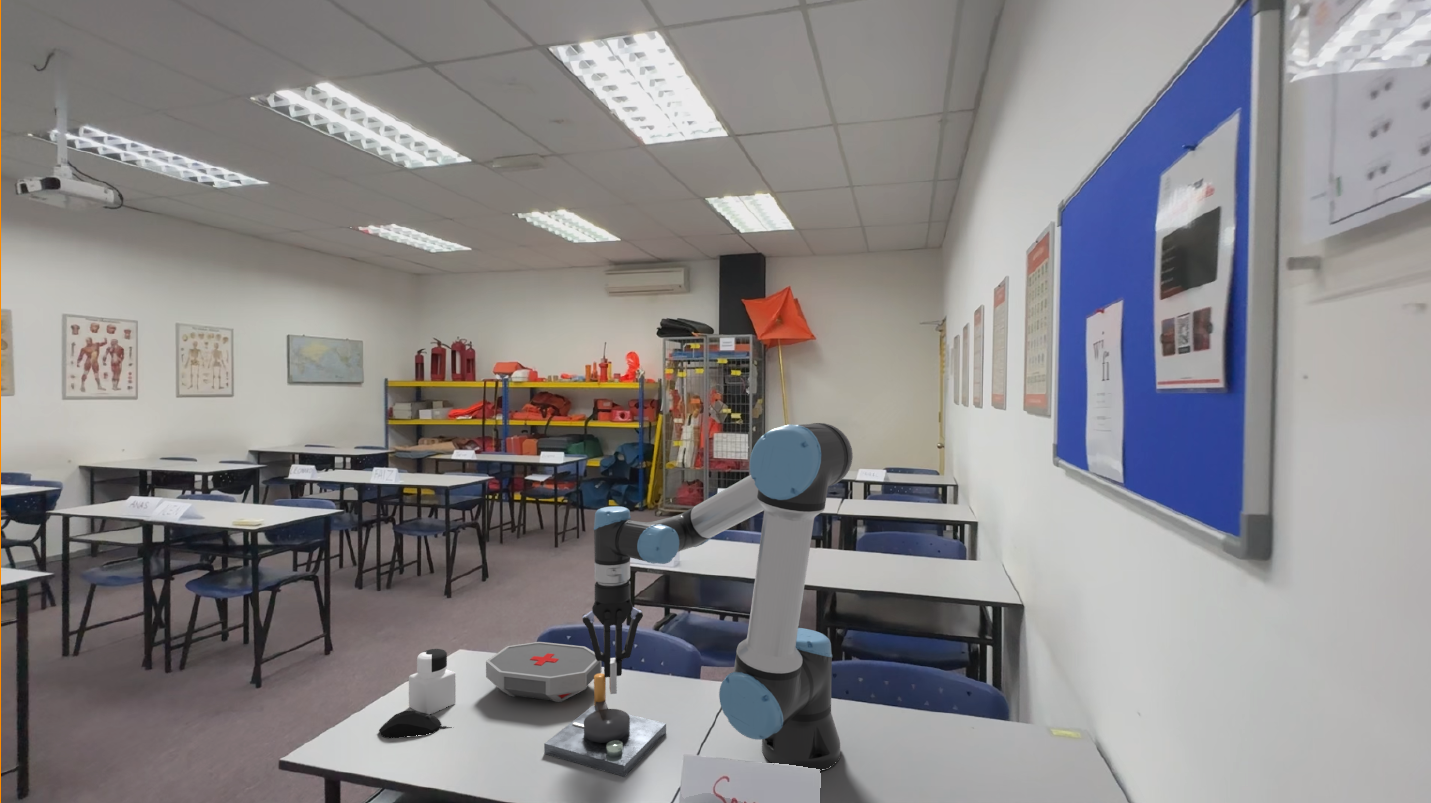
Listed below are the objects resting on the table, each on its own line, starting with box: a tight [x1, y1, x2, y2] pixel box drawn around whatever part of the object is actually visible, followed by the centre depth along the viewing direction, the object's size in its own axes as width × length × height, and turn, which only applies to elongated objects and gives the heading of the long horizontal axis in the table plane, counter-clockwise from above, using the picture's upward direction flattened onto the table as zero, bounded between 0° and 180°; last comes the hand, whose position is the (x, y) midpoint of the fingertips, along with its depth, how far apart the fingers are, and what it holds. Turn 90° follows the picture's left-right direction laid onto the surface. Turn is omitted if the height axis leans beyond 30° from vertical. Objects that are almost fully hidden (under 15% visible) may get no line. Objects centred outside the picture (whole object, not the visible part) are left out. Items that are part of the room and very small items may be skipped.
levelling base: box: [543, 705, 667, 778], centre depth 125 cm, size 18×16×3 cm
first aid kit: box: [485, 641, 603, 703], centre depth 147 cm, size 18×8×25 cm
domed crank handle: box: [584, 672, 630, 743], centre depth 128 cm, size 15×9×7 cm, turn 19°
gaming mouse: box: [378, 710, 455, 739], centre depth 130 cm, size 6×15×4 cm, turn 95°
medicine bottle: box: [408, 648, 457, 715], centre depth 140 cm, size 7×7×12 cm
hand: (613, 690), depth 134 cm, fingers closed
